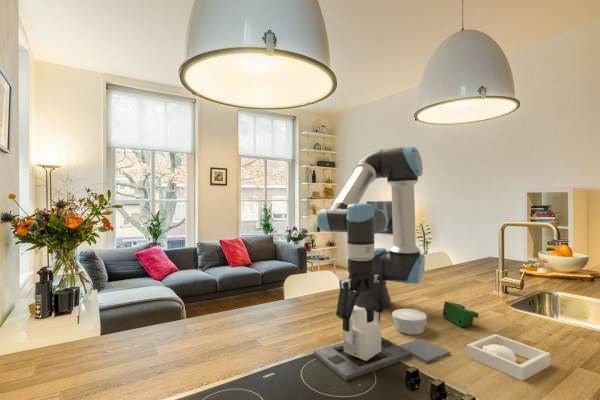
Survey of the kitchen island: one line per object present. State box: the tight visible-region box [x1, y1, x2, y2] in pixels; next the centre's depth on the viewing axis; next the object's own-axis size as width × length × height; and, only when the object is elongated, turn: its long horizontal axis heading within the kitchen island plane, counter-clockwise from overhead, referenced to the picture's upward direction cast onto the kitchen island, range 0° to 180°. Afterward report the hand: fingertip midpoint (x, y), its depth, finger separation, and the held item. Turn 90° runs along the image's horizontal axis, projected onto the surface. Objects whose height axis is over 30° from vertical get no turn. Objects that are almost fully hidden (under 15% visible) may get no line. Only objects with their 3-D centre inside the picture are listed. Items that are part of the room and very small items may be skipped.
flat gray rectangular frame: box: [312, 336, 413, 382], centre depth 88 cm, size 15×23×1 cm, turn 119°
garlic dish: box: [466, 333, 551, 382], centre depth 85 cm, size 14×14×3 cm
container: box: [342, 304, 382, 362], centre depth 89 cm, size 8×8×13 cm
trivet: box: [398, 338, 451, 364], centre depth 91 cm, size 10×10×1 cm
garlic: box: [482, 344, 517, 363], centre depth 85 cm, size 8×7×4 cm
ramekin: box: [391, 308, 428, 336], centre depth 106 cm, size 11×11×5 cm
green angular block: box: [441, 301, 479, 328], centre depth 112 cm, size 12×6×9 cm, turn 4°
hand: (362, 337), depth 89 cm, fingers closed on container, 9 cm apart
